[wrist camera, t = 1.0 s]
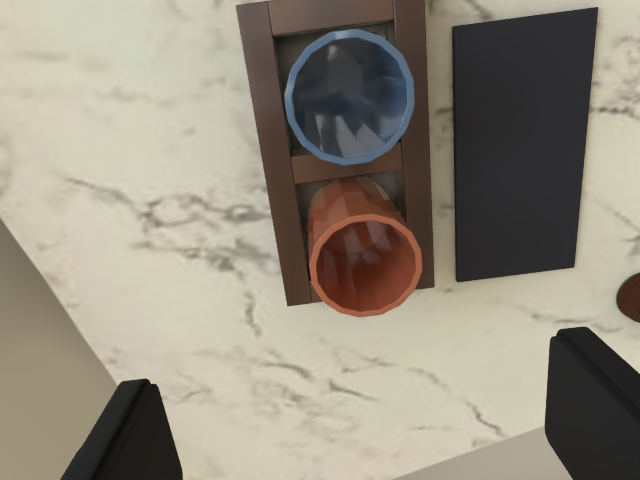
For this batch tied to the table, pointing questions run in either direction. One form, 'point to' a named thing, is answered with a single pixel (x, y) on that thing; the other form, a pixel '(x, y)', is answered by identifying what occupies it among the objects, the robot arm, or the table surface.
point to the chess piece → (630, 298)
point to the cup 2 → (360, 248)
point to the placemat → (520, 141)
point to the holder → (302, 165)
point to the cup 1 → (349, 97)
